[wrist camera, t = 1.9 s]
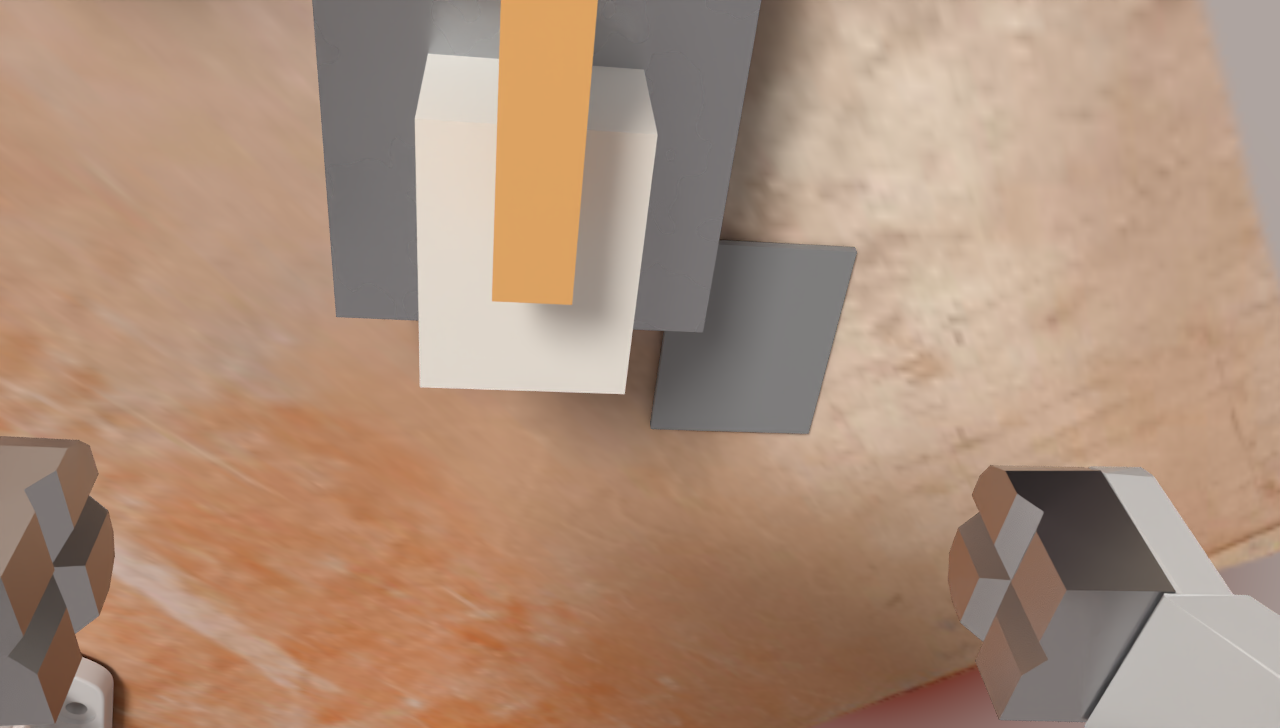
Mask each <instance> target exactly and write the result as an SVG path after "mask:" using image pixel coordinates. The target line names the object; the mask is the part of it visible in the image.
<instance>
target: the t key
mask: <svg viewBox="0 0 1280 728" xmlns="http://www.w3.org/2000/svg"><path fill="white" fill-rule="evenodd" d="M597 4H598V0H501V11H500V44H499V78H498V111H497V145H496V178H495V211H494V245H493V278H492V301H495V302H517V303H540V304H562V305H572V301H573V289H574V277H575V265H576V254H577V242H578V230H579V218H580V206H581V194H582V182H583V170H584V159H585V147H586V135H587V123H588V111H589V99H590V87H591V75H592V64H593V52H594V40H595V28H596V16H597Z"/></svg>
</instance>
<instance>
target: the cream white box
mask: <svg viewBox="0 0 1280 728" xmlns="http://www.w3.org/2000/svg"><path fill="white" fill-rule="evenodd" d="M498 78H499V59H495V58H481V57H467V56H454V55H440V54H428V56H427V61H426V66H425V71H424V76H423V80H422V85H421V90H420V95H419V100H418V105H417V110H416V115H415V158H416V209H417V261H418V312H419V363H420V387H430V388H459V389H488V390H518V391H547V392H576V393H605V394H625V387H626V379H627V371H628V363H629V356H630V348H631V340H632V332H633V324H634V316H635V308H636V301H637V293H638V285H639V277H640V269H641V261H642V253H643V246H644V238H645V230H646V222H647V214H648V206H649V198H650V191H651V183H652V175H653V167H654V159H655V151H656V143H657V136H658V134H657V129H656V125H655V120H654V115H653V110H652V106H651V101H650V96H649V91H648V87H647V82H646V77H645V72H644V69H631V68H617V67H604V66H592V75H591V87H590V99H589V111H588V123H587V135H586V147H585V159H584V170H583V182H582V194H581V206H580V218H579V230H578V242H577V254H576V265H575V277H574V289H573V301H572V305H562V304H540V303H517V302H495V301H492V278H493V245H494V211H495V178H496V145H497V111H498Z"/></svg>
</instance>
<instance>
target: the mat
mask: <svg viewBox="0 0 1280 728" xmlns="http://www.w3.org/2000/svg"><path fill="white" fill-rule="evenodd" d="M856 254H857V251H856V249H855V247H842V246H823V245H804V244H785V243H767V242H748V241H729V240H719V244H718V250H717V255H716V261H715V267H714V272H713V278H712V284H711V289H710V295H709V301H708V307H707V312H706V318H705V324H704V329H703V332H681V331H664V333H663V340H662V347H661V354H660V360H659V367H658V374H657V381H656V387H655V394H654V401H653V407H652V414H651V421H650V427H651V429H667V430H700V431H734V432H767V433H800V434H808V433H809V430H810V426H811V422H812V418H813V415H814V411H815V407H816V403H817V400H818V396H819V392H820V389H821V385H822V381H823V377H824V374H825V370H826V366H827V362H828V359H829V355H830V351H831V347H832V344H833V340H834V336H835V332H836V329H837V325H838V321H839V317H840V314H841V310H842V306H843V302H844V299H845V295H846V291H847V287H848V284H849V280H850V276H851V272H852V269H853V265H854V261H855V257H856Z"/></svg>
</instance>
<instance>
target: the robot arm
mask: <svg viewBox="0 0 1280 728" xmlns="http://www.w3.org/2000/svg"><path fill="white" fill-rule="evenodd" d="M97 476H98V470H97V467H96V464H95V461H94V458H93V454H92V451H91V448H90V445H88V444H86V443H84V442H82V441H80V440H68V439H48V438H28V437H8V436H0V728H112V717H113V687H114V681H113V677H112V675H111V673H110V672H109V671H108V670H107V669H106V668H104V667H103V666H101V665H99V664H97V663H95V662H93V661H91V660H89V659H86V658H84V657H82V656H81V652H80V649H79V646H78V642H77V639H76V636H75V634H76V633H77V632H78V631H80V630H81V629H82V628H84V627H85V626H86V625H87V624H89V623H90V622H91V621H93V620H94V619H95V618H97V617H98V616H99V615H100V612H101V610H102V607H103V604H104V602H105V599H106V596H107V594H108V591H109V588H110V582H111V576H112V570H113V564H114V557H115V552H114V533H113V528H112V524H111V520H110V515H109V511H108V510H107V509H105V508H104V507H103V506H102V505H100V504H99V503H98V502H97V501H95V500H94V499H93V498H92V497H90V496H89V494H90V492H91V490H92V487H93V485H94V483H95V481H96V479H97ZM972 497H973V499H974V501H975V503H976V506H977V508H978V510H979V513H978V514H976V515H975V516H974V517H972V518H971V519H969V520H968V521H967V522H965V523H964V524H963V525H961V526H960V527H959V528H958V530H957V533H956V536H955V538H954V541H953V544H952V547H951V550H950V552H949V572H948V582H949V587H950V593H951V598H952V602H953V605H954V608H955V610H956V613H957V616H958V618H959V621H960V623H961V624H963V625H964V626H965V627H966V628H967V629H968V630H970V631H971V632H972V633H973V634H974V635H976V636H977V637H978V638H979V639H980V640H982V641H983V643H982V645H981V648H980V650H979V652H978V655H977V657H976V660H975V662H976V664H977V667H978V669H979V672H980V674H981V677H982V679H983V681H984V684H985V686H986V689H987V691H988V694H989V696H990V699H991V701H992V704H993V706H994V709H995V711H996V714H997V716H998V719H999V720H1015V721H1017V720H1018V721H1058V722H1086V724H1085V726H1084V727H1085V728H1280V616H1279V615H1278V614H1276V613H1274V612H1273V611H1272V610H1270V609H1269V608H1267V607H1266V606H1264V605H1263V604H1261V603H1260V602H1258V601H1257V600H1255V599H1253V598H1252V597H1251V596H1249V595H1233V594H1232V592H1231V591H1230V589H1229V588H1228V586H1227V585H1226V583H1225V582H1224V580H1223V579H1222V577H1221V576H1220V574H1219V573H1218V571H1217V570H1216V568H1215V567H1214V565H1213V564H1212V562H1211V561H1210V559H1209V558H1208V556H1207V555H1206V553H1205V552H1204V550H1203V549H1202V547H1201V546H1200V544H1199V543H1198V541H1197V540H1196V538H1195V537H1194V535H1193V534H1192V532H1191V531H1190V529H1189V528H1188V526H1187V525H1186V523H1185V522H1184V521H1183V519H1182V518H1181V516H1180V515H1179V513H1178V512H1177V510H1176V509H1175V507H1174V506H1173V504H1172V503H1171V501H1170V500H1169V498H1168V497H1167V495H1166V494H1165V492H1164V491H1163V489H1162V488H1161V486H1160V485H1159V483H1158V482H1157V480H1156V479H1155V477H1154V476H1153V475H1152V474H1150V473H1149V472H1147V471H1146V470H1144V469H1143V468H1141V467H1089V468H1085V467H1054V466H1004V465H990V466H989V467H988V468H987V469H986V470H985V471H984V472H983V473H982V474H981V475H980V477H979V479H978V481H977V484H976V486H975V488H974V491H973V493H972Z"/></svg>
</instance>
